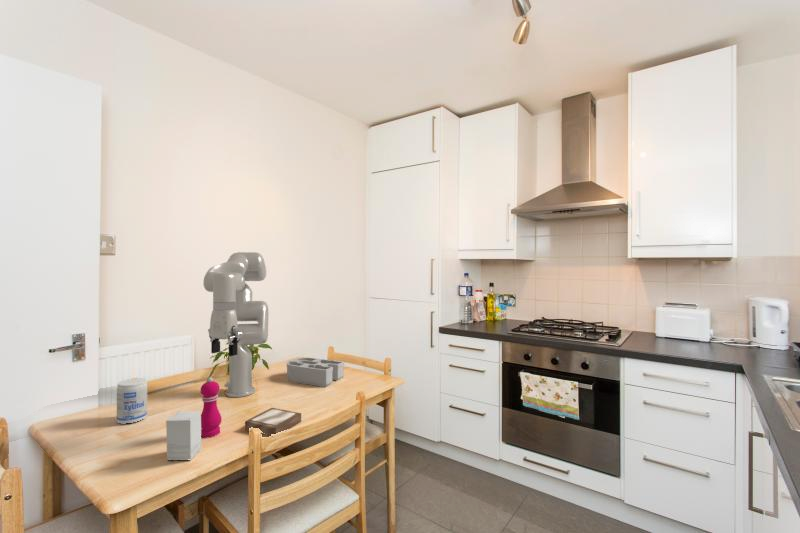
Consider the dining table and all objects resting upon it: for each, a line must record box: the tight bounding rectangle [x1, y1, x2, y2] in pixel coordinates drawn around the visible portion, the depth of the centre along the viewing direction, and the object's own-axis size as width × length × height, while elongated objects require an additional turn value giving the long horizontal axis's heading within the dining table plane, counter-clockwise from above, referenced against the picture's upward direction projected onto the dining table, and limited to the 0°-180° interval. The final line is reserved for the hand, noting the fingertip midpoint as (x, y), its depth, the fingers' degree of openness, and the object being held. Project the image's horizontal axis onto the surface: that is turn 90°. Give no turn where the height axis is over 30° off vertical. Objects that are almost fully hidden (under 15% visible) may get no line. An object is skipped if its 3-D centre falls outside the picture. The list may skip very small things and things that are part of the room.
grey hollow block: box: [286, 357, 345, 388], centre depth 198 cm, size 17×28×9 cm, turn 67°
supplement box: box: [165, 410, 202, 461], centre depth 121 cm, size 7×7×13 cm
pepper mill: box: [200, 376, 223, 438], centre depth 135 cm, size 7×7×20 cm
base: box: [244, 407, 302, 436], centre depth 142 cm, size 14×14×3 cm
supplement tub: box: [116, 377, 148, 425], centre depth 147 cm, size 10×10×15 cm
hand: (224, 354), depth 140 cm, fingers open, 9 cm apart
